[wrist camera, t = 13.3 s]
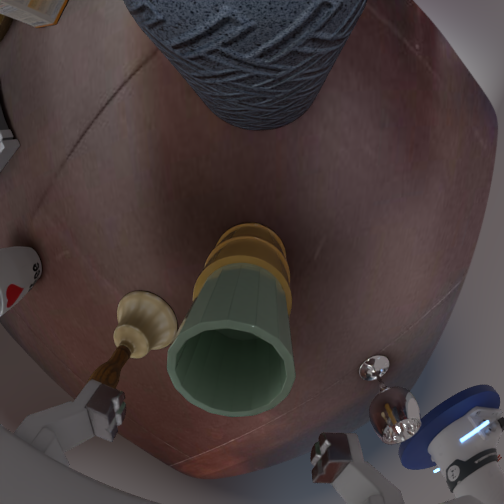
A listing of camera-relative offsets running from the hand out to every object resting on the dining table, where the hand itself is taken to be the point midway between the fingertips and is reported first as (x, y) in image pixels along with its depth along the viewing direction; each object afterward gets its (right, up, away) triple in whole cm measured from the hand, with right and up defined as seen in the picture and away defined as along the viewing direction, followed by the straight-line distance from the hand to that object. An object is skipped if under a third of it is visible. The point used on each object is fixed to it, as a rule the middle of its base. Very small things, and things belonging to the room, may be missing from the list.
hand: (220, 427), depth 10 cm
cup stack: (+1, +6, +22) cm, 22 cm away
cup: (-31, +5, +24) cm, 39 cm away
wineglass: (+18, -9, +25) cm, 32 cm away
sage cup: (+1, +3, +11) cm, 12 cm away
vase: (+2, +25, +16) cm, 30 cm away
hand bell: (-12, -2, +25) cm, 27 cm away
